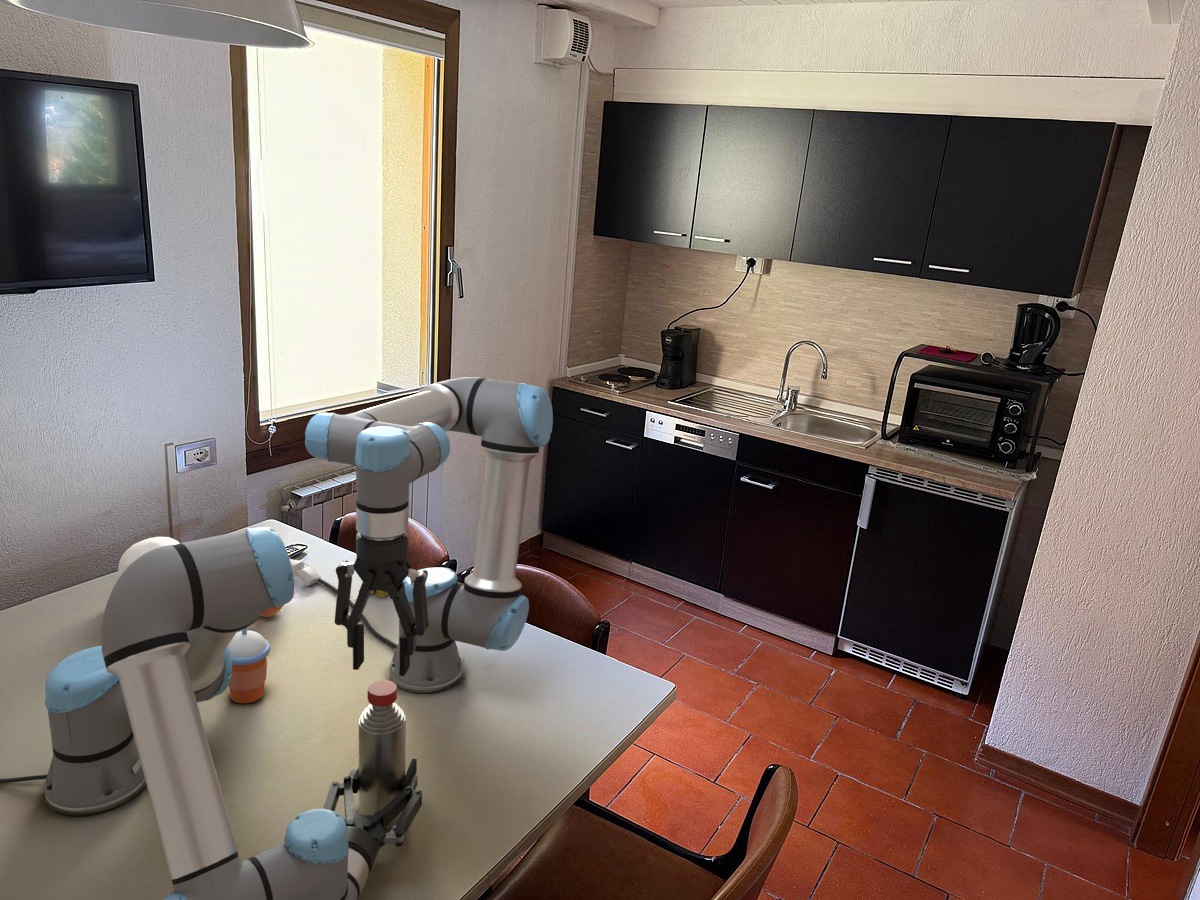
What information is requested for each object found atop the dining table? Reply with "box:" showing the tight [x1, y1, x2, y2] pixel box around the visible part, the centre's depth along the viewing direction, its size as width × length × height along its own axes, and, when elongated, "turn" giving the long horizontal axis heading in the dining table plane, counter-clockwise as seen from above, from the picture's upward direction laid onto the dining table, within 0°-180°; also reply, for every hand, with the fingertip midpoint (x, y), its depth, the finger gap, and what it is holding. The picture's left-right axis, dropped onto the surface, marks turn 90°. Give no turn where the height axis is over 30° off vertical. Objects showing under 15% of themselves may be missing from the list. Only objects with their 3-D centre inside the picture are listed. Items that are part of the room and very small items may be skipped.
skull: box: [117, 536, 180, 578], centre depth 200 cm, size 13×22×16 cm, turn 73°
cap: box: [367, 679, 398, 707], centre depth 135 cm, size 4×4×2 cm
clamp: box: [289, 558, 322, 587], centre depth 219 cm, size 20×4×7 cm, turn 62°
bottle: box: [358, 701, 407, 831], centre depth 138 cm, size 7×7×24 cm
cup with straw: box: [228, 627, 271, 704], centre depth 167 cm, size 9×9×18 cm
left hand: (390, 763), depth 145 cm, fingers closed on bottle, 7 cm apart
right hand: (381, 668), depth 133 cm, fingers open, 7 cm apart
